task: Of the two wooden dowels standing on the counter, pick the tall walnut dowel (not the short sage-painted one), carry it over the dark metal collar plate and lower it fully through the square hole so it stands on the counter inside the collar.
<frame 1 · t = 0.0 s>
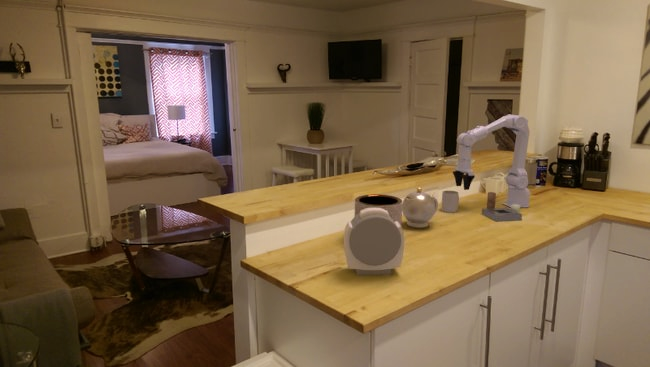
hand: (462, 187, 208), 10 cm above the worktop, fingers open, 7 cm apart
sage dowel: (515, 213, 202), on the worktop
walnut dowel: (490, 209, 208), on the worktop
cup: (451, 210, 207), on the worktop
planter: (377, 240, 167), on the worktop
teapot: (420, 225, 185), on the worktop
alarm clock: (372, 271, 138), on the worktop
collar plate: (501, 216, 196), on the worktop
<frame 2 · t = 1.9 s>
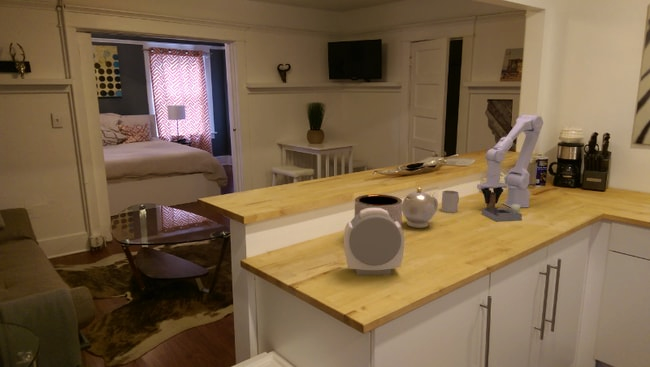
hand: (491, 203, 208), 3 cm above the worktop, fingers closed on walnut dowel, 4 cm apart
walnut dowel: (490, 209, 208), on the worktop, touching gripper
everything else where it was.
when the fingers open (4 cm above the worktop, at t = 5.3 s): walnut dowel stays where it is, resting in collar plate.
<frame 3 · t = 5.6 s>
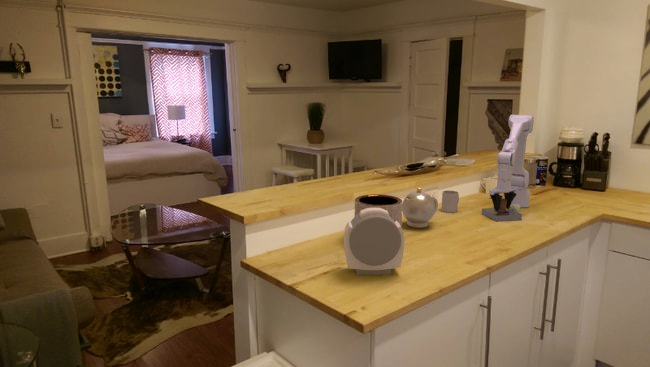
hand: (501, 209, 196), 4 cm above the worktop, fingers open, 6 cm apart
walnut dowel: (500, 216, 196), resting in collar plate
everything else where it was.
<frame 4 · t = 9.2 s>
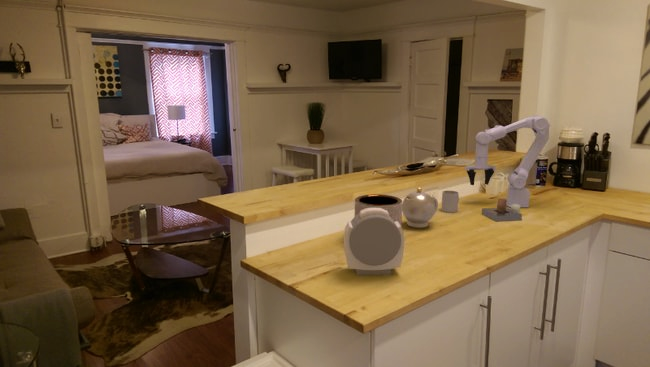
hand: (479, 184, 216), 10 cm above the worktop, fingers open, 7 cm apart
nothing on the worktop moved.
at the end: walnut dowel 0.1 cm off-centre on the collar plate, point 0.0 cm above the collar plate's base; walnut dowel tilted 0°; the gripper is holding nothing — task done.
